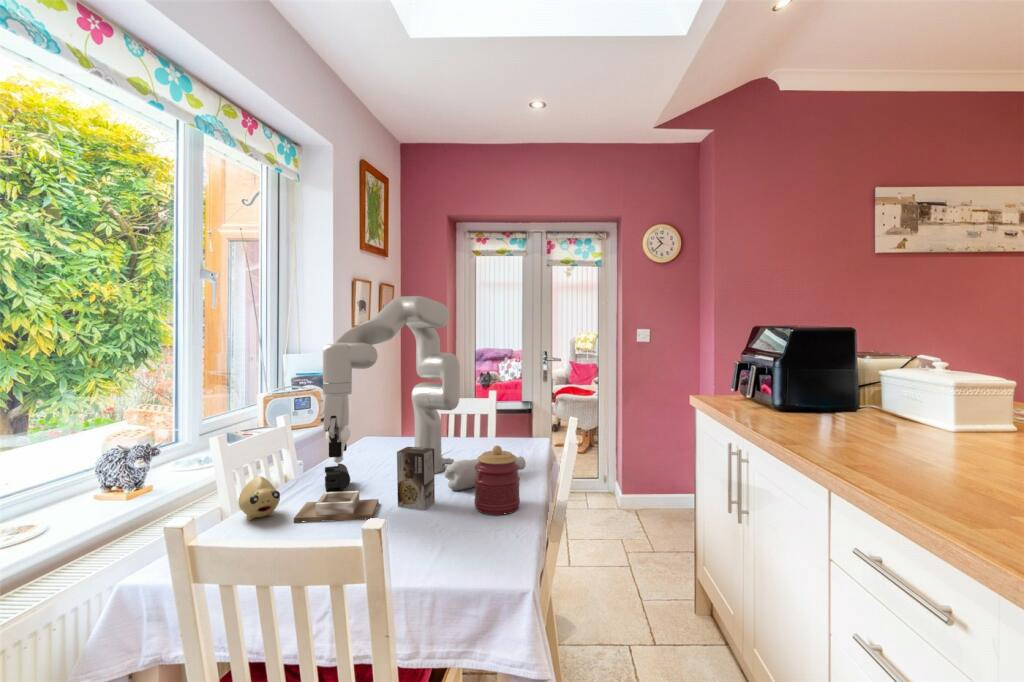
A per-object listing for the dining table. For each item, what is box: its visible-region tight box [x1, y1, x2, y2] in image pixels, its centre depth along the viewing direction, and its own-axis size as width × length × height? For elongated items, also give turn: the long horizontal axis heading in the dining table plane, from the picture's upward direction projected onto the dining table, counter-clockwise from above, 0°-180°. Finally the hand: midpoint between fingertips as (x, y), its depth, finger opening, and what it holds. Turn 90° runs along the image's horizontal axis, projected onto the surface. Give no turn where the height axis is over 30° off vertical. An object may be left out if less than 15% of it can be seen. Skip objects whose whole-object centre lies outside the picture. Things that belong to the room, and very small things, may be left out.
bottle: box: [444, 456, 527, 492], centre depth 162 cm, size 9×9×30 cm
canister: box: [473, 445, 521, 515], centre depth 138 cm, size 13×13×18 cm
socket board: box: [293, 490, 380, 523], centre depth 135 cm, size 20×12×4 cm, turn 98°
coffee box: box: [396, 446, 436, 511], centre depth 140 cm, size 9×6×16 cm
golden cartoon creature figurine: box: [238, 476, 281, 521], centre depth 131 cm, size 10×12×11 cm
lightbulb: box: [325, 425, 351, 464], centre depth 134 cm, size 6×6×11 cm
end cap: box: [324, 462, 351, 492], centre depth 156 cm, size 10×7×7 cm
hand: (337, 453), depth 134 cm, fingers closed on lightbulb, 5 cm apart
